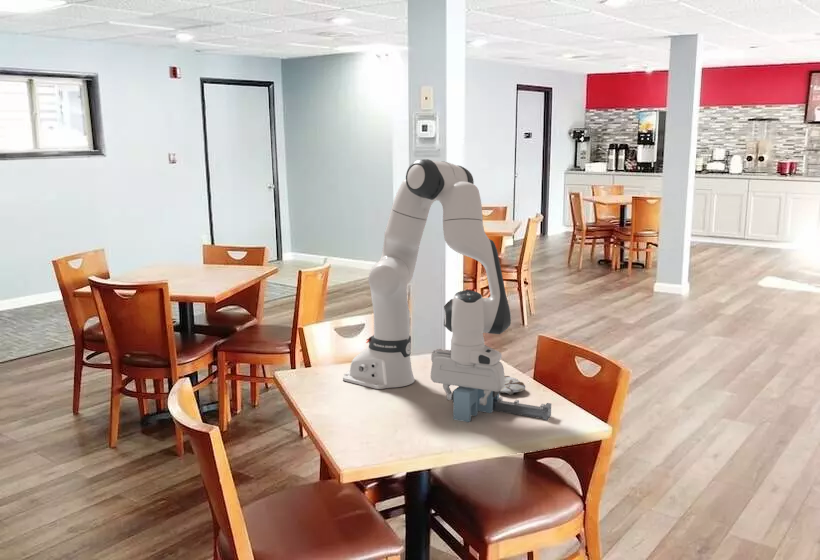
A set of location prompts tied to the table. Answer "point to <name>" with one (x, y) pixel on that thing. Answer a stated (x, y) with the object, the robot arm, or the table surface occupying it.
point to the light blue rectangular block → (489, 405)
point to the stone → (512, 385)
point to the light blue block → (465, 403)
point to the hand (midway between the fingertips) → (466, 402)
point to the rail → (522, 408)
